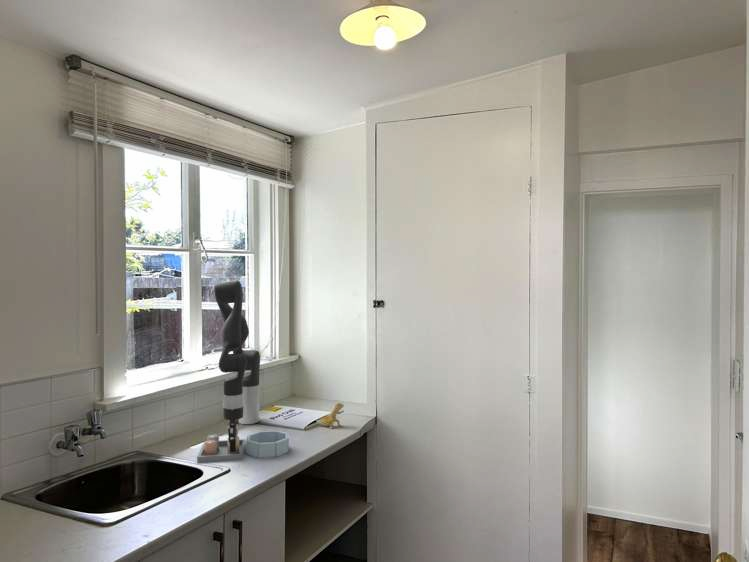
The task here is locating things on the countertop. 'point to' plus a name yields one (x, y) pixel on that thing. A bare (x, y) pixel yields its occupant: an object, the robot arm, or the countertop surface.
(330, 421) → the toy
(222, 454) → the tray
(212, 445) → the pebble rust
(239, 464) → the countertop surface
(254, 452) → the bowl
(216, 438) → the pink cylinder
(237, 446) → the pebble sand
